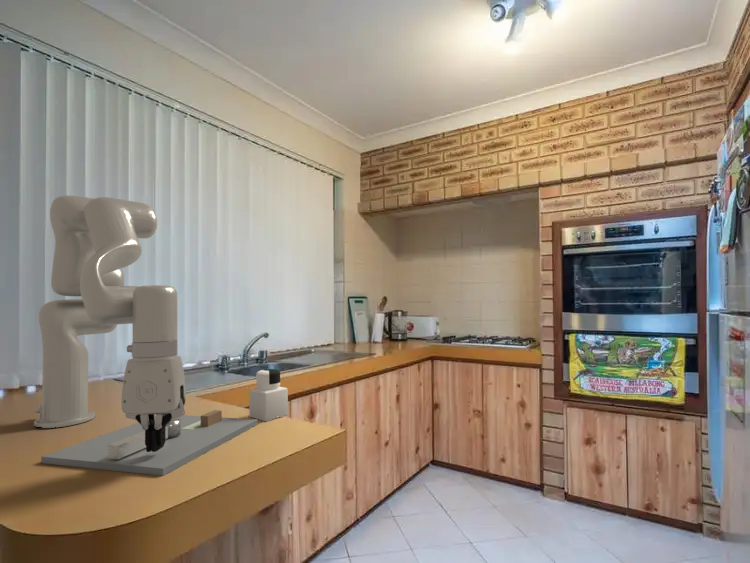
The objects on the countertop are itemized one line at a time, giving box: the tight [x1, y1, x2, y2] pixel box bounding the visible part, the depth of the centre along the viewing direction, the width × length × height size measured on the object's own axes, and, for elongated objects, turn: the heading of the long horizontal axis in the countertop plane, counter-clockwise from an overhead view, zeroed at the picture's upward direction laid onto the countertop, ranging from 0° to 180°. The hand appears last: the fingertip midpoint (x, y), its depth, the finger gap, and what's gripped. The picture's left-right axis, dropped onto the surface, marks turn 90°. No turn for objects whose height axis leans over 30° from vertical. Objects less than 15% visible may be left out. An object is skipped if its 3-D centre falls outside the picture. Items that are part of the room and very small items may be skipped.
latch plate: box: [40, 409, 259, 477], centre depth 89 cm, size 28×30×4 cm
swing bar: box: [108, 418, 181, 459], centre depth 82 cm, size 16×4×3 cm, turn 165°
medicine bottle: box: [248, 368, 289, 422], centre depth 106 cm, size 7×7×12 cm
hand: (155, 449), depth 77 cm, fingers closed
